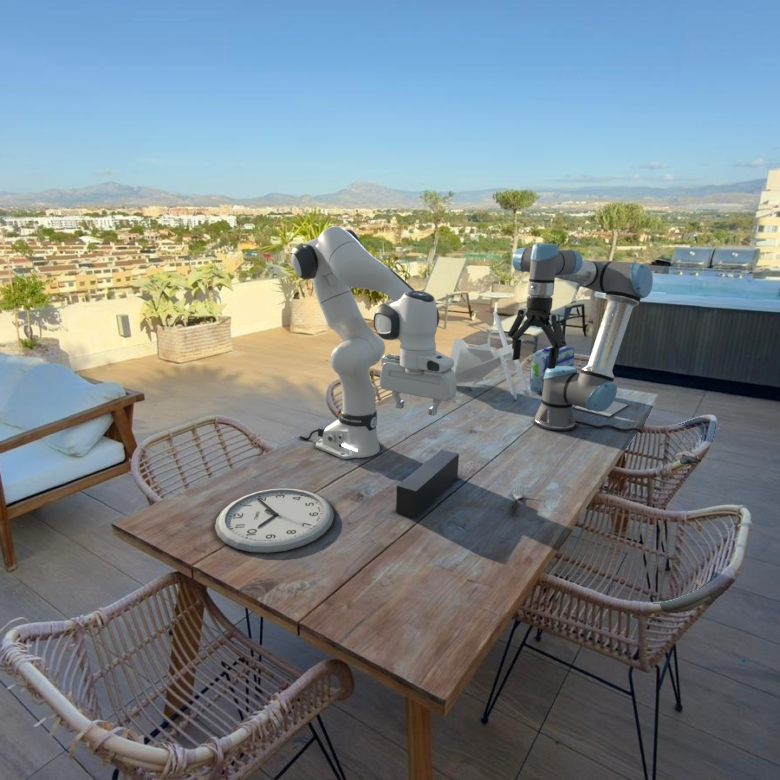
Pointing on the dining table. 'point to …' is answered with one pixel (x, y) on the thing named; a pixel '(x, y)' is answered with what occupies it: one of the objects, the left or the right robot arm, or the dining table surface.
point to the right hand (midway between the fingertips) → (533, 363)
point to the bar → (426, 483)
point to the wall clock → (274, 520)
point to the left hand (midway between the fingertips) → (415, 411)
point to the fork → (517, 496)
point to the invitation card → (609, 411)
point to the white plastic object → (485, 361)
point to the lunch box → (541, 364)
